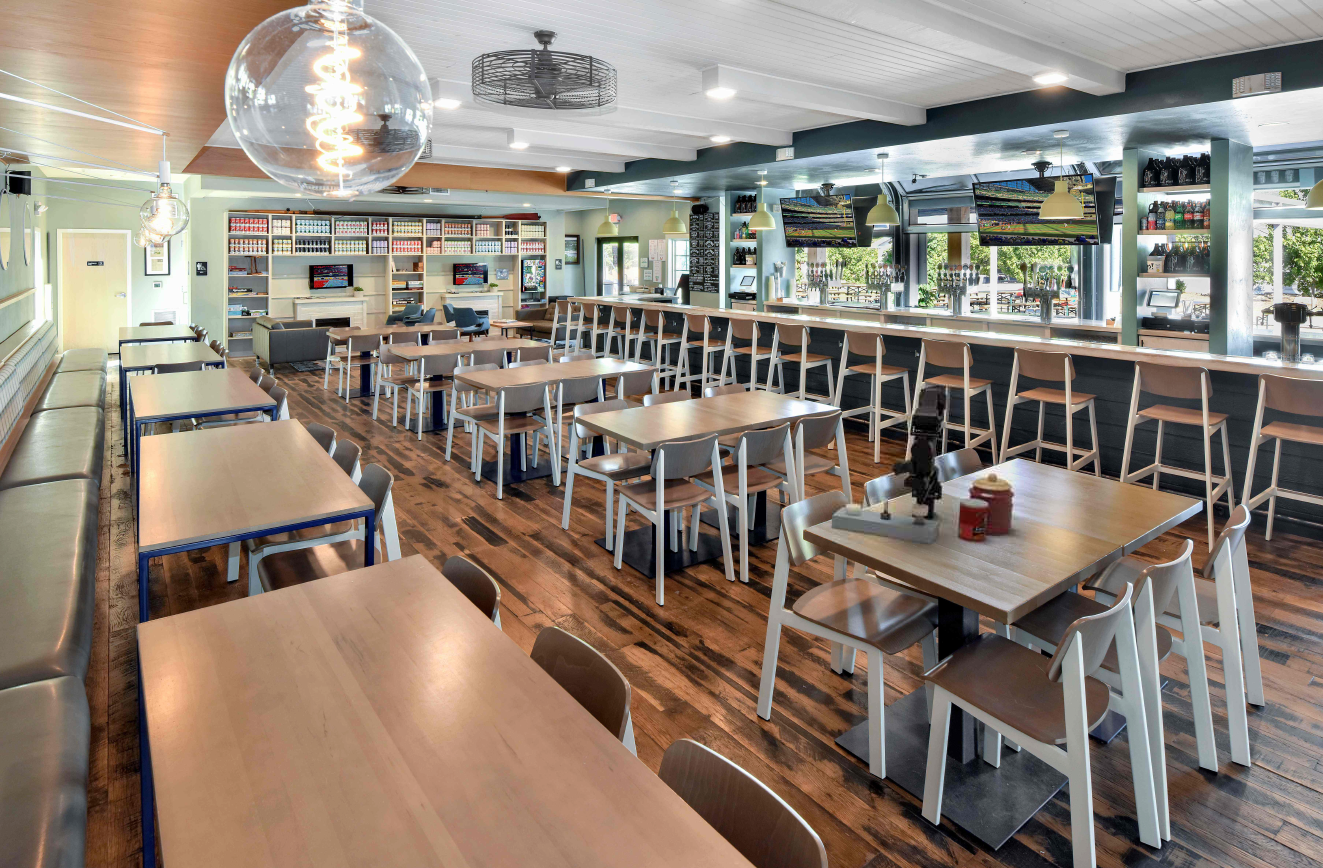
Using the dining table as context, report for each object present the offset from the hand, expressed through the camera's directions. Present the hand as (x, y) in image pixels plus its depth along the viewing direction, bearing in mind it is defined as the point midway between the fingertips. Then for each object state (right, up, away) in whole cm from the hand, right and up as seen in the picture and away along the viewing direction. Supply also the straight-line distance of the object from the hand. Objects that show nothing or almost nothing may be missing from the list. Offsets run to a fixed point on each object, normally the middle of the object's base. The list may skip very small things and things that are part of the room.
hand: (920, 504), depth 233 cm
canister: (+24, -9, +9) cm, 27 cm away
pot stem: (-9, -5, +6) cm, 12 cm away
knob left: (-17, -7, +12) cm, 22 cm away
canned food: (+16, -10, +1) cm, 19 cm away
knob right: (0, -6, +1) cm, 6 cm away
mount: (-9, -9, +7) cm, 14 cm away
